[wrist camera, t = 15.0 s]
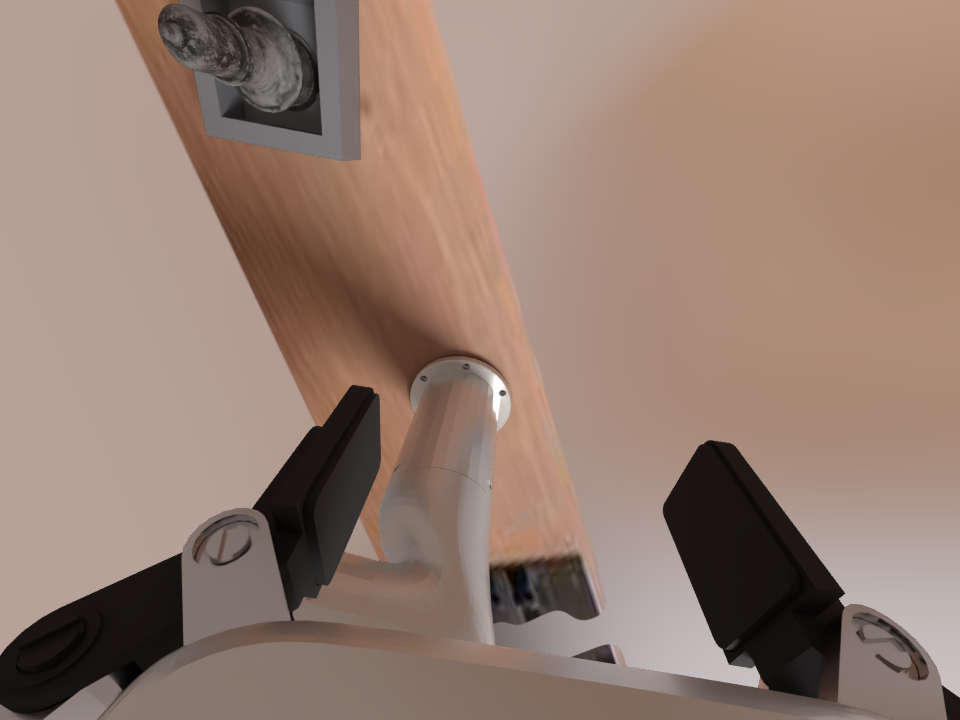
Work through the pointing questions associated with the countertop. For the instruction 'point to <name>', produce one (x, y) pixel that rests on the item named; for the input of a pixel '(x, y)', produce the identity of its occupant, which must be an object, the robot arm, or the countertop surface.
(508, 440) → the countertop surface
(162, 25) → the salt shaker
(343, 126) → the holder
